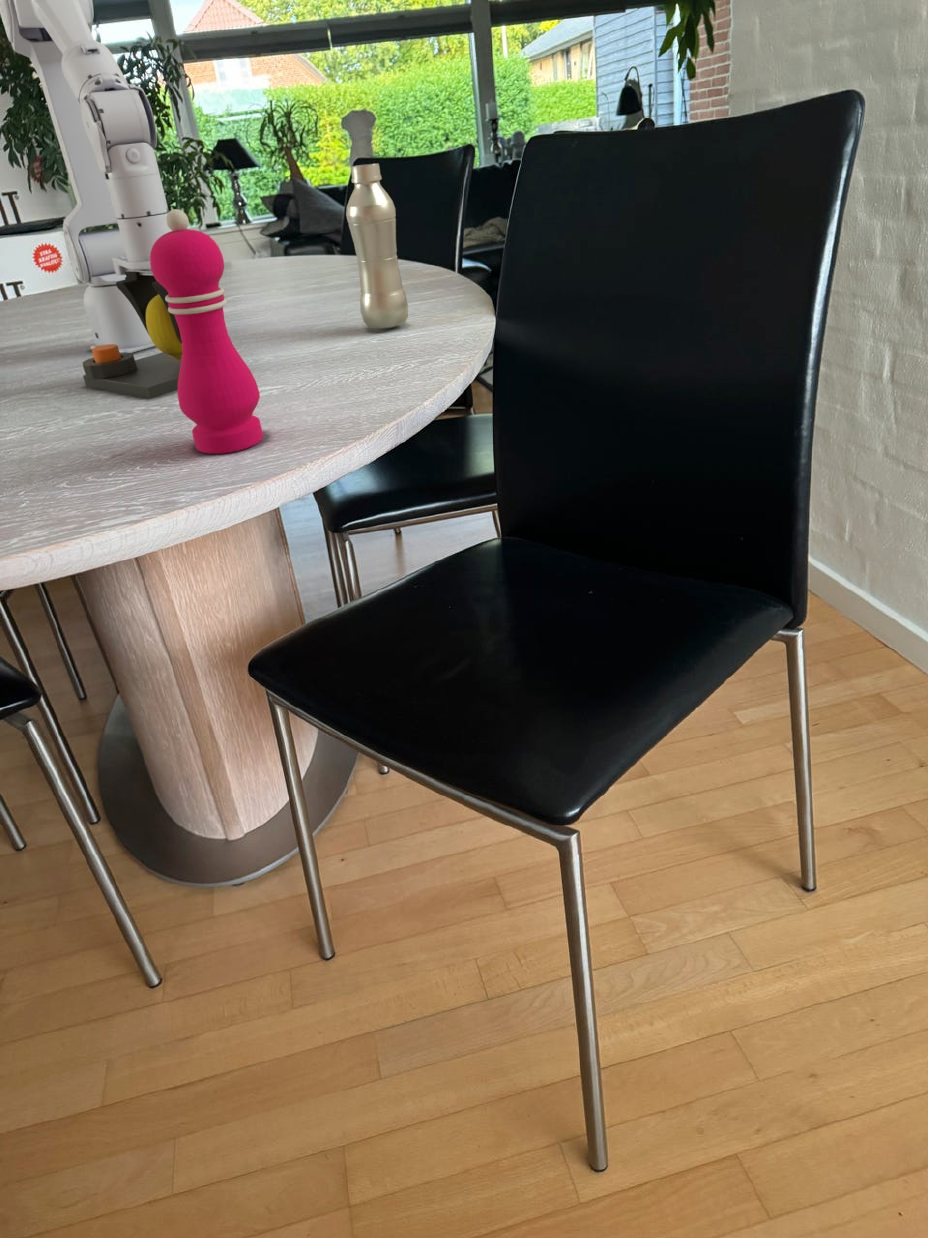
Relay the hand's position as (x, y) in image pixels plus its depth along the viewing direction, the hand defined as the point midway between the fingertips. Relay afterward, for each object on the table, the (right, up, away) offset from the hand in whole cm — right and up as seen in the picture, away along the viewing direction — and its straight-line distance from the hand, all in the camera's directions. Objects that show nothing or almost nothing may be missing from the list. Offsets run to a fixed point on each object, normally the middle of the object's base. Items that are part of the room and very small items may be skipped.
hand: (174, 339), depth 104 cm
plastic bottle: (+24, +6, +16) cm, 29 cm away
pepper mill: (+13, -17, -22) cm, 31 cm away
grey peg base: (-2, -4, +2) cm, 5 cm away
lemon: (0, -2, +1) cm, 3 cm away
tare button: (-8, -2, +1) cm, 9 cm away
